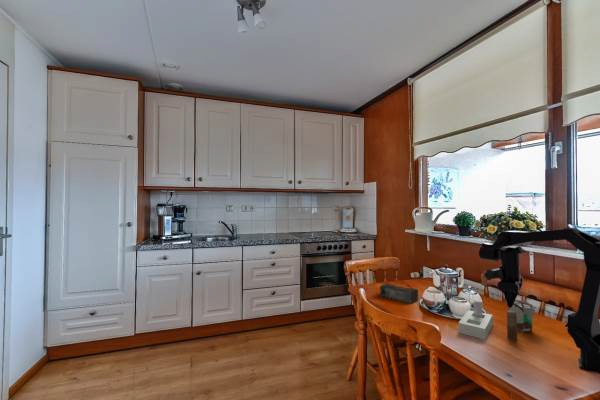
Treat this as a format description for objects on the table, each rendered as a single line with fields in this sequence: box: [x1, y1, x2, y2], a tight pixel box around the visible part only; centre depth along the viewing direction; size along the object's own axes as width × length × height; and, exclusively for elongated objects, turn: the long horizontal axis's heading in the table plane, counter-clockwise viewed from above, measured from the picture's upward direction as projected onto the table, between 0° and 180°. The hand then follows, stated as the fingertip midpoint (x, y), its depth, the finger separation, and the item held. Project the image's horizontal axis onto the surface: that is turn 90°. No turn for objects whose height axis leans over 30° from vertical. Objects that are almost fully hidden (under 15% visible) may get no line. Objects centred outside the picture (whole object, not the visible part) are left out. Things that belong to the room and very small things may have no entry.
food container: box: [508, 299, 536, 334], centre depth 116 cm, size 12×6×10 cm, turn 168°
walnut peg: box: [506, 309, 518, 341], centre depth 108 cm, size 3×3×10 cm
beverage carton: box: [379, 283, 419, 304], centre depth 156 cm, size 8×19×7 cm, turn 45°
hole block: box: [458, 309, 494, 340], centre depth 116 cm, size 18×9×4 cm, turn 138°
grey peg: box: [473, 299, 483, 318], centre depth 120 cm, size 3×3×10 cm
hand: (511, 304), depth 108 cm, fingers open, 9 cm apart
